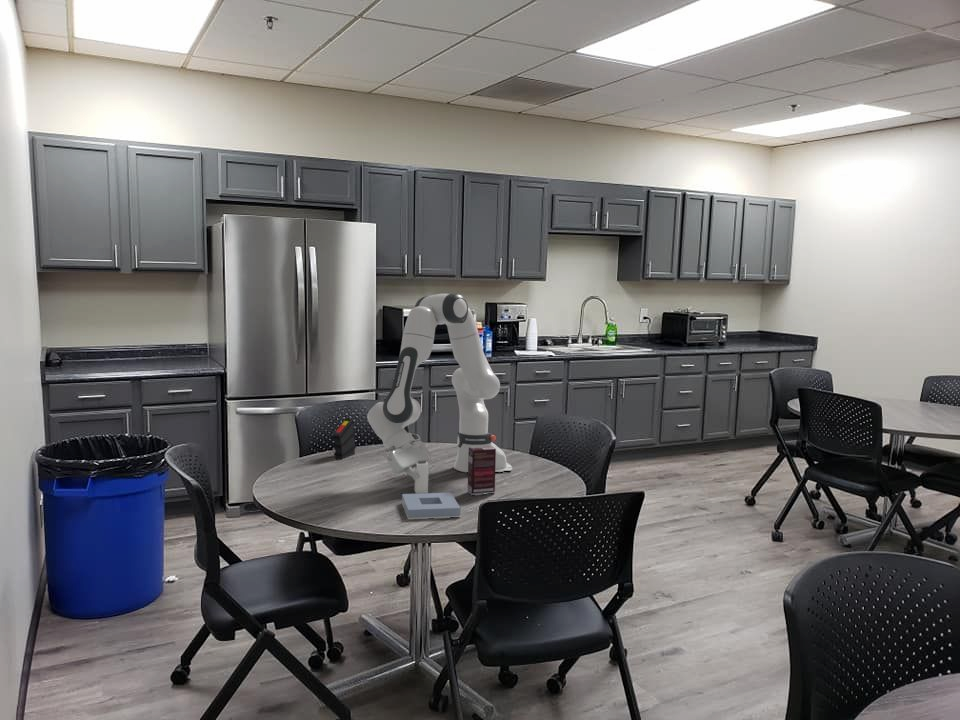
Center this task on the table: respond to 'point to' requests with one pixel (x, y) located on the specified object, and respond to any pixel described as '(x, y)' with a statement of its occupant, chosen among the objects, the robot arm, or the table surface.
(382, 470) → the table surface
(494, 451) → the supplement box
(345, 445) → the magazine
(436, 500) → the blue-gray square socket base
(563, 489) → the table surface
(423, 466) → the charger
